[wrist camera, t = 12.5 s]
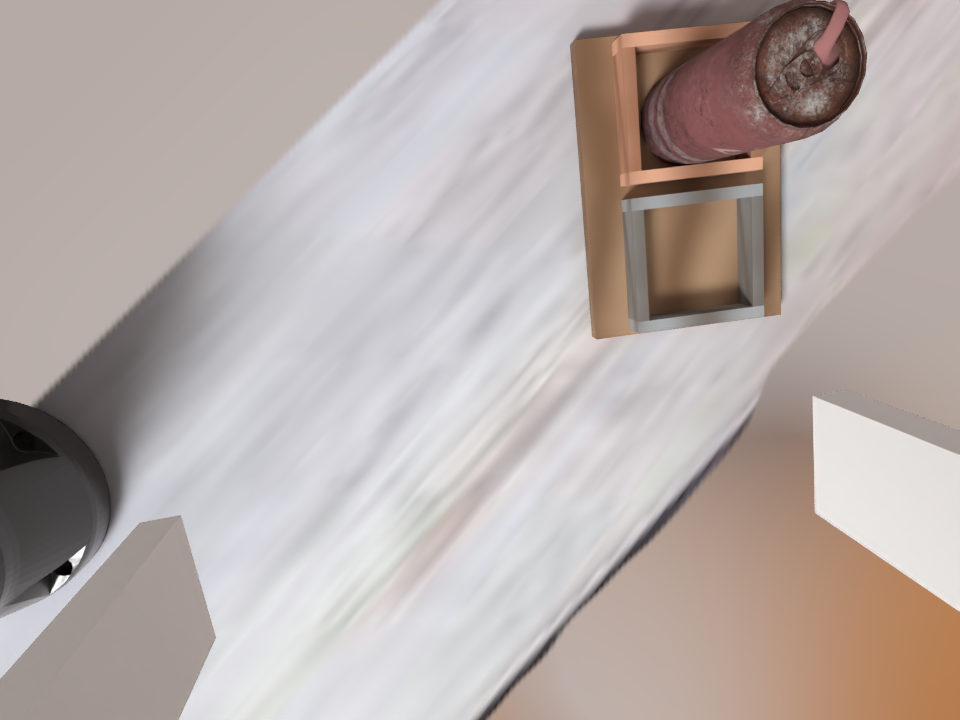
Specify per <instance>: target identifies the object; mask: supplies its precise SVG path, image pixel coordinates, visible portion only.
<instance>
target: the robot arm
mask: <svg viewBox="0 0 960 720" xmlns="http://www.w3.org/2000/svg"><path fill="white" fill-rule="evenodd" d="M813 432H814V433H813V434H814V435H813V437H814V489H815V513H816V514H818V515H819V516H821V517H822V518H824V519H825V520H826V521H828V522H829V523H831V524H832V525H834V526H835V527H837V528H838V529H840V530H841V531H842V532H844V533H845V534H847V535H848V536H850V537H851V538H853V539H854V540H856V541H857V542H859V543H860V544H861V545H863V546H864V547H866V548H868V549H869V550H870V551H872V552H873V553H875V554H876V555H878V556H879V557H881V558H882V559H883V560H885V561H886V562H888V563H889V564H891V565H892V566H894V567H895V568H897V569H898V570H900V571H901V572H903V573H904V574H905V575H907V576H908V577H910V578H911V579H913V580H914V581H916V582H917V583H919V584H920V585H922V586H923V587H924V588H926V589H927V590H929V591H930V592H932V593H933V594H935V595H936V596H938V597H939V598H941V599H942V600H943V601H945V602H946V603H948V604H949V605H951V606H952V607H954V608H955V609H957V610H958V611H960V430H957V429H954V428H951V427H949V426H946V425H943V424H940V423H938V422H935V421H932V420H929V419H926V418H924V417H920V416H918V415H915V414H913V413H910V412H907V411H904V410H901V409H899V408H895V407H893V406H890V405H887V404H884V403H882V402H879V401H876V400H873V399H871V398H868V397H865V396H862V395H860V394H857V393H854V392H851V391H848V390H841V391H836V392H830V393H825V394H820V395H815V396H813ZM109 515H110V499H109V492H108V487H107V483H106V480H105V477H104V475H103V472H102V470H101V468H100V466H99V464H98V462H97V460H96V459H95V457H94V455H93V454H92V452H91V451H90V450H89V448H88V447H87V446H86V445H85V443H84V442H83V441H82V440H81V439H80V438H79V437H78V436H77V435H76V434H75V433H74V432H73V431H71V430H70V429H69V428H68V427H66V426H65V425H64V424H62V423H61V422H60V421H58V420H56V419H55V418H53V417H52V416H50V415H48V414H46V413H44V412H42V411H40V410H38V409H35V408H33V407H30V406H27V405H24V404H21V403H18V402H13V401H9V400H3V399H0V618H2V617H4V616H6V615H9V614H11V613H13V612H16V611H18V610H20V609H22V608H25V607H27V606H29V605H31V604H34V603H36V602H38V601H40V600H42V599H44V598H46V597H48V596H50V595H51V594H53V593H54V592H56V591H57V590H59V589H60V588H62V587H63V586H64V585H65V584H67V583H68V582H69V581H70V580H71V579H72V578H73V577H74V576H75V575H76V574H77V573H78V572H79V571H80V570H81V569H82V568H83V567H84V566H85V565H86V564H87V563H88V562H89V561H90V560H91V559H92V557H93V556H94V555H95V553H96V552H97V550H98V549H99V547H100V545H101V543H102V541H103V539H104V536H105V534H106V530H107V527H108V522H109ZM215 638H216V636H215V633H214V629H213V626H212V622H211V619H210V615H209V612H208V609H207V605H206V602H205V598H204V595H203V591H202V588H201V584H200V581H199V577H198V574H197V570H196V567H195V563H194V560H193V556H192V553H191V549H190V546H189V542H188V539H187V535H186V532H185V528H184V525H183V522H182V518H181V515H179V516H174V517H169V518H163V519H158V520H153V521H148V522H142V523H139V524H138V525H137V527H136V528H135V529H134V530H133V531H132V532H131V533H130V534H129V536H128V537H127V538H126V539H125V540H124V541H123V542H122V543H121V545H120V546H119V547H118V548H117V549H116V550H115V551H114V552H113V553H112V555H111V556H110V557H109V558H108V559H107V560H106V561H105V562H104V564H103V565H102V566H101V567H100V568H99V569H98V570H97V571H96V573H95V574H94V575H93V576H92V577H91V578H90V579H89V580H88V582H87V583H86V584H85V585H84V586H83V587H82V588H81V589H80V591H79V592H78V593H77V594H76V595H75V596H74V597H73V598H72V599H71V601H70V602H69V603H68V604H67V605H66V606H65V607H64V608H63V610H62V611H61V612H60V613H59V614H58V615H57V616H56V617H55V619H54V620H53V621H52V622H51V623H50V624H49V625H48V626H47V628H46V629H45V630H44V631H43V632H42V633H41V634H40V635H39V636H38V638H37V639H36V640H35V641H34V642H33V643H32V644H31V645H30V647H29V648H28V649H27V650H26V651H25V652H24V653H23V654H22V656H21V657H20V658H19V659H18V660H17V661H16V662H15V663H14V665H13V666H12V667H11V668H10V669H9V670H8V671H7V672H6V674H5V675H4V676H3V677H2V678H1V679H0V720H179V718H180V715H181V713H182V711H183V709H184V707H185V704H186V702H187V700H188V698H189V696H190V693H191V691H192V689H193V687H194V685H195V682H196V680H197V678H198V676H199V674H200V671H201V669H202V667H203V665H204V663H205V660H206V658H207V656H208V654H209V652H210V649H211V647H212V645H213V643H214V641H215Z"/></svg>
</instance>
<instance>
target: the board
mask: <svg viewBox="0 0 960 720" xmlns="http://www.w3.org/2000/svg"><path fill="white" fill-rule="evenodd" d="M750 22H751V21H748V22H738V23H727V24H717V25H707V26H697V27H687V28H677V29H667V30H657V31H646V32H636V33H626V34H621V35H618V36H608V37H598V38H588V39H578V40H574V41H573V43H572V44H571V45H570V49H571V62H572V75H573V88H574V102H575V115H576V128H577V141H578V155H579V168H580V181H581V194H582V208H583V221H584V234H585V247H586V261H587V274H588V287H589V300H590V313H591V327H592V337H594V338H596V339H603V338H610V337H618V336H625V335H632V334H640V333H647V332H655V331H662V330H670V329H677V328H685V327H692V326H699V325H707V324H714V323H722V322H729V321H737V320H744V319H751V318H759V317H766V316H774V315H781V226H780V145H775V146H771V147H767V148H762V149H758V150H754V151H750V152H745V153H741V154H737V155H733V156H728V157H724V158H720V159H715V160H711V161H707V162H703V163H698V164H694V165H687V166H676V165H672V164H669V163H666V162H664V161H662V160H661V159H660V158H658V157H657V156H656V155H654V154H653V153H652V151H651V150H650V148H649V147H648V145H647V144H646V142H645V139H644V136H643V133H642V129H641V111H642V108H643V105H644V101H645V98H646V96H647V95H648V93H649V92H650V90H651V89H652V87H653V86H654V84H655V83H657V82H658V81H659V80H660V79H662V78H663V77H664V76H665V75H667V74H668V73H670V72H671V71H673V70H675V69H676V68H678V67H679V66H681V65H683V64H684V63H686V62H687V61H689V60H691V59H692V58H694V57H695V56H697V55H699V54H700V53H702V52H703V51H705V50H707V49H708V48H710V47H711V46H713V45H715V44H716V43H718V42H719V41H721V40H723V39H724V38H726V37H727V36H729V35H731V34H732V33H734V32H735V31H737V30H739V29H740V28H742V27H743V26H745V25H747V24H748V23H750Z"/></svg>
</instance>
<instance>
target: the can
mask: <svg viewBox="0 0 960 720" xmlns="http://www.w3.org/2000/svg"><path fill="white" fill-rule="evenodd" d="M849 13H850V11H849V8H848V4H847V3H846V2H845V1H842V0H834V1H832V2H830V3H829V2H826V1H816V0H792V1H789V2H787V3H784V4H782V5H779V6H776V7H774V8H772V9H771V10H769V11H767V12H766V13H764V14H763V15H761V16H759V17H758V18H756V19H755V20H753V21H751V22H750V23H748V24H747V25H745V26H743V27H742V28H740V29H739V30H737V31H735V32H734V33H732V34H731V35H729V36H727V37H726V38H724V39H723V40H721V41H719V42H718V43H716V44H715V45H713V46H711V47H710V48H708V49H707V50H705V51H703V52H702V53H700V54H699V55H697V56H695V57H694V58H692V59H691V60H689V61H687V62H686V63H684V64H683V65H681V66H679V67H678V68H676V69H675V70H673V71H671V72H670V73H668V74H667V75H665V76H664V77H663V78H662V79H660V80H659V81H658V82H657V83H655V84H654V86H653V87H652V89H651V90H650V92H649V93H648V95H647V96H646V98H645V101H644V105H643V108H642V111H641V129H642V133H643V136H644V139H645V142H646V144H647V145H648V147H649V148H650V150H651V151H652V153H653V154H654V155H656V156H657V157H658V158H660V159H661V160H662V161H664V162H666V163H669V164H672V165H676V166H687V165H694V164H698V163H703V162H707V161H711V160H715V159H720V158H724V157H728V156H733V155H737V154H741V153H745V152H750V151H754V150H758V149H762V148H767V147H771V146H775V145H780V144H784V143H788V142H792V141H797V140H801V139H805V138H807V137H810V136H812V135H815V134H817V133H820V132H823V131H824V130H825V129H826V128H827V127H829V126H830V125H831V124H832V123H834V122H835V121H836V120H837V119H839V117H840V116H841V114H842V113H843V112H845V111H846V110H847V109H848V107H849V106H850V105H851V103H852V102H853V100H854V99H855V98H856V96H857V95H858V93H859V90H860V88H861V85H862V82H863V79H864V77H865V72H866V61H867V52H866V47H865V42H864V37H863V34H862V32H861V30H860V28H859V27H858V25H857V23H856V21H855V19H854V18H853V17H852V16H850V15H849Z"/></svg>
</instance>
